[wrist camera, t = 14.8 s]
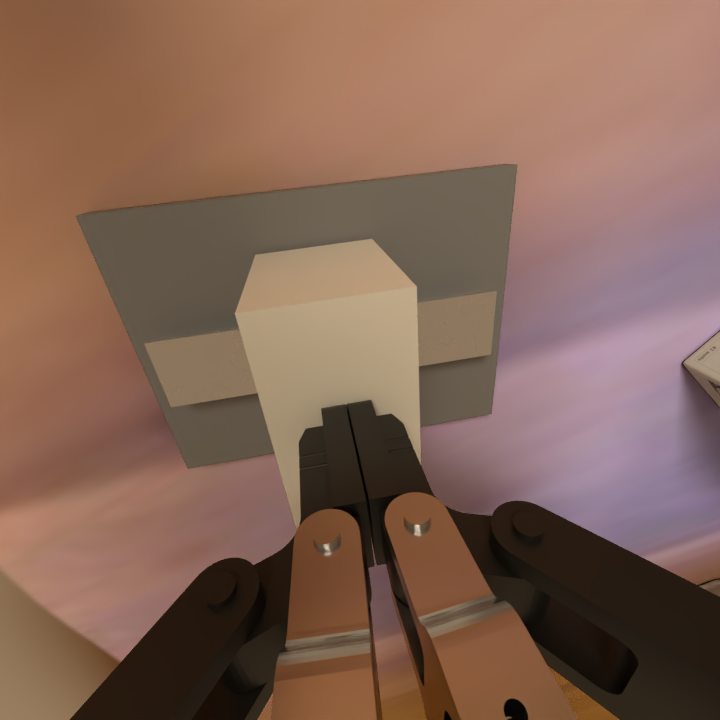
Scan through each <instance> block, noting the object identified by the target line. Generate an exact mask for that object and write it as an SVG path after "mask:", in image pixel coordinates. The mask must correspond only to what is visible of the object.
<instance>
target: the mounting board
mask: <svg viewBox="0 0 720 720" xmlns="http://www.w3.org/2000/svg"><path fill="white" fill-rule="evenodd" d="M516 173H517V165H513V164H501V165H492V166H483V167H475V168H466V169H457V170H449V171H440V172H431V173H423V174H414V175H405V176H397V177H388V178H380V179H371V180H362V181H354V182H345V183H336V184H328V185H319V186H310V187H302V188H293V189H284V190H276V191H267V192H258V193H250V194H241V195H232V196H224V197H215V198H206V199H198V200H189V201H181V202H172V203H163V204H155V205H146V206H137V207H129V208H120V209H111V210H103V211H94V212H88V213H84V214H81V215H78V216H76V218H77V220H78V222H79V225H80V227H81V229H82V231H83V234H84V236H85V238H86V240H87V243H88V245H89V247H90V249H91V252H92V254H93V256H94V258H95V261H96V263H97V265H98V267H99V270H100V272H101V274H102V276H103V279H104V281H105V283H106V285H107V288H108V290H109V292H110V294H111V297H112V299H113V301H114V303H115V306H116V308H117V310H118V312H119V315H120V317H121V319H122V321H123V324H124V326H125V328H126V330H127V333H128V335H129V337H130V339H131V342H132V344H133V346H134V348H135V351H136V353H137V355H138V357H139V360H140V362H141V364H142V366H143V369H144V371H145V373H146V375H147V378H148V380H149V382H150V384H151V387H152V389H153V391H154V393H155V396H156V398H157V400H158V402H159V405H160V407H161V409H162V411H163V414H164V416H165V418H166V420H167V423H168V425H169V427H170V429H171V432H172V434H173V436H174V438H175V441H176V443H177V445H178V447H179V450H180V452H181V454H182V456H183V459H184V461H185V463H186V465H187V468H188V469H189V468H194V467H200V466H206V465H211V464H217V463H222V462H228V461H233V460H239V459H244V458H250V457H255V456H261V455H266V454H272V453H275V452H274V449H273V445H272V442H271V438H270V435H269V431H268V428H267V424H266V421H265V417H264V414H263V410H262V407H261V403H260V400H259V396H258V393H255V394H249V395H243V396H237V397H231V398H225V399H219V400H213V401H207V402H201V403H195V404H189V405H183V406H177V407H171V406H170V403H169V401H168V399H167V396H166V394H165V392H164V389H163V387H162V385H161V382H160V380H159V378H158V375H157V373H156V371H155V368H154V366H153V364H152V361H151V359H150V357H149V354H148V352H147V350H146V347H145V345H144V343H145V341H151V340H157V339H164V338H171V337H178V336H184V335H191V334H198V333H205V332H211V331H218V330H225V329H232V328H238V327H239V326H238V323H237V319H236V316H235V312H236V309H237V306H238V303H239V300H240V298H241V295H242V292H243V289H244V286H245V283H246V280H247V277H248V275H249V272H250V269H251V266H252V263H253V260H254V257H255V255H257V254H264V253H271V252H279V251H286V250H293V249H301V248H308V247H315V246H322V245H330V244H337V243H344V242H352V241H359V240H366V239H373V240H374V241H375V242H376V244H377V245H378V246H379V247H380V248H381V249H382V250H383V251H384V252H385V253H386V254H387V255H388V256H389V257H390V258H391V259H392V261H393V262H394V263H395V264H396V265H397V266H398V267H399V268H400V269H401V270H402V271H403V272H404V273H405V274H406V275H407V276H408V278H409V279H410V280H411V281H412V282H413V283H414V284H415V285H416V286H417V301H420V300H427V299H434V298H441V297H447V296H454V295H461V294H468V293H474V292H481V291H488V290H496V291H497V295H496V306H495V317H494V327H493V338H492V349H491V355H485V356H479V357H473V358H467V359H461V360H455V361H449V362H443V363H437V364H431V365H425V366H419V401H420V427H421V426H427V425H432V424H438V423H443V422H449V421H455V420H460V419H466V418H471V417H477V416H482V415H488V414H492V404H493V395H494V385H495V375H496V366H497V356H498V346H499V337H500V327H501V317H502V308H503V298H504V289H505V279H506V269H507V260H508V250H509V240H510V231H511V221H512V211H513V202H514V192H515V182H516Z"/></svg>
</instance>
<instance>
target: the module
mask: <svg viewBox="0 0 720 720" xmlns="http://www.w3.org/2000/svg"><path fill="white" fill-rule="evenodd" d="M235 316H236V319H237V323H238V326H239V330H240V333H241V337H242V340H243V344H244V347H245V351H246V354H247V358H248V361H249V365H250V368H251V372H252V375H253V379H254V382H255V386H256V389H257V393H258V396H259V400H260V403H261V407H262V410H263V414H264V417H265V421H266V424H267V428H268V431H269V435H270V438H271V442H272V445H273V449H274V452H275V456H276V459H277V463H278V466H279V470H280V473H281V477H282V480H283V484H284V487H285V491H286V494H287V498H288V501H289V505H290V508H291V512H292V515H293V519H294V522H295V526H296V527H299V525H300V519H301V510H300V473H299V471H300V469H299V440H300V439H301V437H302V435H303V433H304V431H305V429H307V428H312V427H318V426H323V421H322V413H321V408H326V407H332V406H337V405H343V404H345V406H346V410H347V415H348V409H347V404H348V403H354V402H360V401H366V400H371V401H372V403H373V406H374V409H375V412H376V415H377V416H380V415H385V414H391V413H392V414H393V415H394V416H395V417H396V418H398V419H399V420H400V421H401V422H402V423H403V424H404V426H405V429H406V431H407V434H408V436H409V439H410V441H411V443H412V446H413V449H414V450H415V453H416V455H417V457H418V460H419V462H420V465H421V444H420V401H419V359H418V316H417V286H416V285H415V284H414V283H413V282H412V281H411V280H410V279H409V278H408V276H407V275H406V274H405V273H404V272H403V271H402V270H401V269H400V268H399V267H398V266H397V265H396V264H395V263H394V262H393V261H392V259H391V258H390V257H389V256H388V255H387V254H386V253H385V252H384V251H383V250H382V249H381V248H380V247H379V246H378V245H377V244H376V242H375V241H374V240H373V239H366V240H359V241H352V242H344V243H337V244H330V245H322V246H315V247H308V248H301V249H293V250H286V251H279V252H271V253H264V254H257V255H255V257H254V260H253V263H252V266H251V269H250V272H249V275H248V277H247V280H246V283H245V286H244V289H243V292H242V295H241V298H240V300H239V303H238V306H237V309H236V312H235ZM348 419H349V416H348Z"/></svg>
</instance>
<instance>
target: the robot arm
mask: <svg viewBox="0 0 720 720" xmlns="http://www.w3.org/2000/svg"><path fill="white" fill-rule="evenodd" d="M347 409H348V415H347V410H346V406H345V404H343V405H337V406H332V407H326V408H321V413H322V421H323V426H318V427H312V428H307V429H305V431H304V433H303V435H302V437H301V439H300V440H299V469H300V471H299V473H300V510H301V519H300V525H299V528H298V529H297V531H296V534H295V536H294V537H293V539H292V540H291V541H290V542H289V543H288V544H287V545H286V546H285V547H284V548H283V549H282V550H280V551H279V552H277V553H275V554H274V555H272V556H270V557H268V558H266V559H264V560H263V561H261V562H259V563H257V564H255V565H252V564H251V563H250V562H249V561H247V560H245V559H241V558H228V559H224V560H221V561H218V562H216V563H214V564H212V565H211V566H209V567H208V568H206V569H205V570H204V571H203V572H201V573H200V574H199V575H198V576H197V578H196V579H195V580H194V581H193V582H192V583H191V584H190V585H189V586H188V588H187V589H186V590H185V591H184V592H183V593H182V594H181V595H180V597H179V598H178V599H177V600H176V601H175V602H174V603H173V604H172V606H171V607H170V608H169V609H168V610H167V611H166V612H165V613H164V615H163V616H162V617H161V618H160V619H159V620H158V621H157V622H156V624H155V625H154V626H153V627H152V628H151V629H150V630H149V631H148V632H147V634H146V635H145V636H144V637H143V638H142V639H141V640H140V641H139V643H138V644H137V645H136V646H135V647H134V648H133V649H132V650H131V652H130V653H129V654H128V655H127V656H126V657H125V658H124V659H123V661H122V662H121V663H120V664H119V665H118V666H117V667H116V668H115V670H114V671H113V672H112V673H111V674H110V675H109V676H108V677H107V679H106V680H105V681H104V682H103V683H102V684H101V685H100V686H99V688H98V689H97V690H96V691H95V692H94V693H93V694H92V695H91V697H90V698H89V699H88V700H87V701H86V702H85V703H84V704H83V705H82V707H81V708H80V709H79V710H78V711H77V712H76V713H75V715H74V716H73V717H72V718H71V719H70V720H257V719H258V717H259V715H260V714H261V712H262V710H263V708H264V707H265V705H266V703H267V702H268V700H269V698H270V696H271V695H272V693H273V699H272V710H271V720H383V718H382V709H381V701H380V691H379V682H378V672H377V663H376V653H375V644H374V634H373V625H372V615H371V605H370V602H371V595H372V593H371V585H370V577H369V570H368V567H373V566H374V559H373V551H372V544H373V549H374V554H375V558H376V563H377V565H381V564H386V566H387V570H388V574H389V578H390V584H391V594H392V599H393V602H394V606H395V609H396V612H397V616H398V619H399V622H400V625H401V629H402V632H403V635H404V638H405V642H406V645H407V648H408V652H409V655H410V658H411V661H412V665H413V668H414V671H415V674H416V678H417V681H418V684H419V688H420V691H421V695H422V699H423V704H424V709H425V714H426V718H427V720H578V718H577V716H576V715H575V713H574V711H573V709H572V708H571V706H570V704H569V702H568V701H567V699H566V697H565V695H564V694H563V692H562V690H561V688H560V687H559V685H558V683H557V681H556V680H555V678H554V676H553V674H552V673H551V671H550V669H549V667H551V668H552V669H553V670H555V671H556V672H557V673H559V674H560V675H561V676H563V677H564V678H565V679H567V680H568V681H569V682H571V683H572V684H573V685H575V686H576V687H577V688H579V689H580V690H581V691H583V692H584V693H585V694H587V695H588V696H589V697H591V698H592V699H593V700H595V701H596V702H597V703H599V704H600V705H601V706H603V707H604V708H605V709H607V710H608V711H609V712H611V713H612V714H613V715H615V716H616V717H617V718H619V719H620V720H720V597H719V596H717V595H715V594H713V593H711V592H709V591H707V590H705V589H703V588H701V587H699V586H697V585H695V584H693V583H691V582H689V581H687V580H686V579H684V578H682V577H680V576H678V575H676V574H674V573H672V572H670V571H668V570H666V569H664V568H662V567H660V566H658V565H656V564H654V563H652V562H650V561H648V560H646V559H644V558H642V557H640V556H638V555H636V554H634V553H632V552H630V551H628V550H626V549H624V548H622V547H620V546H618V545H616V544H614V543H612V542H610V541H608V540H606V539H604V538H602V537H600V536H598V535H596V534H594V533H592V532H590V531H588V530H586V529H584V528H582V527H580V526H578V525H576V524H574V523H572V522H570V521H568V520H566V519H564V518H562V517H560V516H558V515H556V514H554V513H552V512H550V511H548V510H546V509H544V508H542V507H540V506H538V505H536V504H533V503H530V502H525V501H510V502H507V503H504V504H502V505H500V506H499V507H498V508H497V509H496V510H495V511H494V513H493V515H492V516H486V515H476V514H467V513H461V512H458V511H455V510H452V509H450V508H448V507H447V506H445V505H444V504H442V502H441V501H439V500H438V499H437V498H436V497H435V496H434V494H433V492H432V491H431V488H430V486H429V484H428V481H427V479H426V476H425V474H424V472H423V469H422V467H421V465H420V462H419V460H418V457H417V455H416V453H415V450H414V449H413V446H412V443H411V441H410V439H409V436H408V434H407V431H406V429H405V426H404V424H403V423H402V422H401V421H400V420H399V419H398V418H396V417H395V416H394V415H393V414H392V413H391V414H385V415H380V416H377V415H376V412H375V409H374V406H373V403H372V401H371V400H366V401H360V402H354V403H348V404H347ZM348 416H349V419H348ZM371 539H372V542H371ZM547 665H548V666H549V667H548V666H547Z"/></svg>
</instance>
